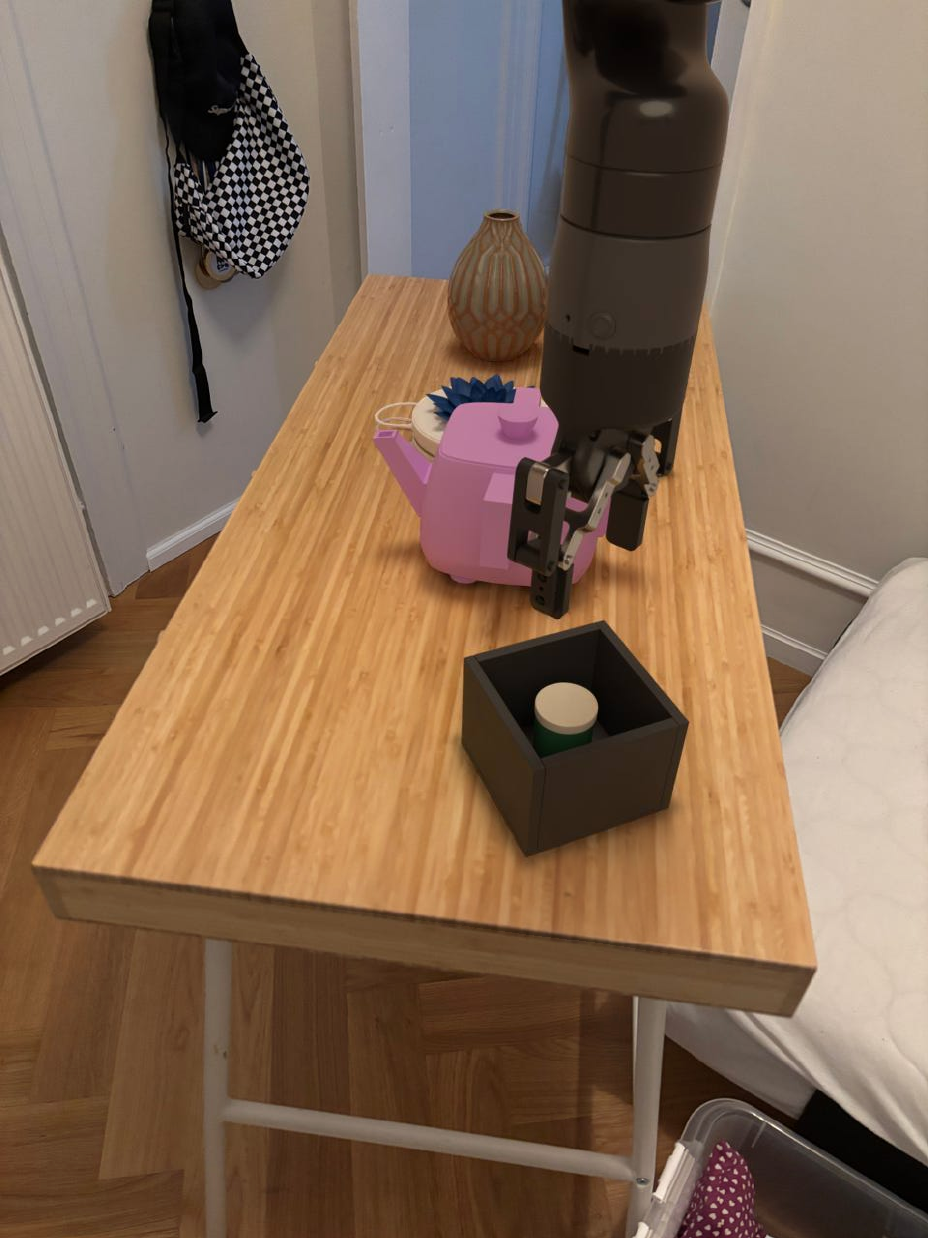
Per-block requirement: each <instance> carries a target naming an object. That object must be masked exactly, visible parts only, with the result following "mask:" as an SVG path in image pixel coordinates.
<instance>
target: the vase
mask: <svg viewBox="0 0 928 1238" xmlns="http://www.w3.org/2000/svg"><path fill="white" fill-rule="evenodd" d="M547 287H548V273H547V270H546V267H545V265H544V261H543V260H542V258H541V256H540V254H539V252H538V250H537V248H536V246H534V244H533V243H532V241H531V239H530V238H529V237H528V235H527V234H526V232H525V230H524V227H523V225H522V223H521V215H520V213H519V212H517V211H516V210H512V209H508V208H507V209H506V208H505V209H504V208H495V209H494V208H493V209H490V210H486V211H484V213H483V216H482V221H481V224H480V226H479V227H478V229H477V230H476V232H475V233H474V234H473V236H471V238H470V240H469V241H468V242H467V244H465V246H464V248H462V250H461V252H460V253H459V255H458V257H457V259H456V261H455V263H454V265H453V267H452V269H451V272H450V275H449V280H448V284H447V295H446V304H447V305H446V306H447V315H448V320H449V323H450V326H451V328H452V329H451V330H452V331H453V334H455V335H454V336H455V337H456V339H457V340H458V341H459V343H460V344H461V345H462V347H464V348H465V349H466V350H468V352H470V354H472V355H473V356H474V357H475V358H477V359H480V360H483V361H487V362H496V363H497V362H498V363H499V362H507V361H512V360H515V359H517V358H518V357H520V356H521V355H523V354H524V353H525V352H526V351H527V350H529V349H530V348H531V347H532V346H534V344H535V343H536V342H537V340H538V339H539V338H540V335H541V333H542V332H543V331H544V323H545V311H546V299H547Z"/></svg>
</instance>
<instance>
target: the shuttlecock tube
mask: <svg viewBox="0 0 928 1238" xmlns="http://www.w3.org/2000/svg"><path fill="white" fill-rule="evenodd" d="M597 713H598V703H597V701H596V698H595V697H594V695H593V694H592V693H591V692H590V691H588V690H587V689H585V688H584V687H581V686H579V685H576V684H572V683H555V684H551V685H549V686H547V687H545V688H543V689H542V690H541V691H540V692H539V693H538V695H537V697H536V700H535V725H534V735H533V746H532V747H533V749H534V750H535V752H536V753H537V755H538V757H539V758H540V760H541V758H544V757H547V756H550V755H554V754H557V753H560V752H563V751H566V750H570V749H573V748H576V747H579V746H582V745H586V744H589V743H591V742H592V736H593V729H594V723H595V721H596V718H597Z"/></svg>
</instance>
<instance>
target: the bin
mask: <svg viewBox="0 0 928 1238" xmlns="http://www.w3.org/2000/svg"><path fill="white" fill-rule="evenodd" d="M462 665H463V667H462V668H463V670H462V710H461V740H460V741H461V743H460V744H461V745H462V747H463V749H464V750H465V752H466V754H467V756H468V758H469V760H470V761H471V763H472V765H473V766H474V768H475V770H476V771H477V773H478V775H479V777H480V779H481V781H482V783H483V784H484V786H485V788H486V790H487V792H488V793H489V795H490V796H491V798H492V800H493V802H494V804H495V805H496V807H497V809H498V810H499V813H500V814H501V816H502V818H503V819H504V822H505V823H506V825H507V826H508V827H507V828H508V829H509V831H510V832H511V834H512V835H513V837H514V839H515V841H516V843H517V844H518V846H519V848H520V850H521V852H522V853H523V855H524V857H525V858H529V857H531V856H534V855H538V854H540V853H544V852H547V851H549V850H552V849H554V848H555V849H556V848H558V847H561V846H563V845H567V844H569V843H572V842H575V841H579V840H581V839H583V838H587V837H590V836H593V835H596V834H598V833H600V832H604V831H606V830H609V829H612V828H615V827H619V826H621V825H624V824H627V823H630V822H633V821H635V820H638V819H641V818H644V817H647V816H650V815H653V814H655V813H659V812H662V811H665V810H668V809H669V808H670V803H671V799H672V796H673V791H674V787H675V784H676V779H677V775H678V772H679V767H680V762H681V758H682V755H683V750H684V746H685V742H686V738H687V734H688V730H689V725H690V720H689V719H688V718H687V717H686V716H685V715H684V713H683V712H682V711H681V710H680V709H679V707H678V706H677V705H676V704H675V703H674V702H673V700H672V699H671V698H670V696H668V694H667V693H666V692H665V691H664V689H663V688H662V687H661V686H660V684H658V683H657V681H656V680H655V679H654V677H653V676H652V675H651V674H650V672H649V671H648V670H647V669H646V667H644V665H643V664H642V663H641V662H640V661H639V659H637V657H636V656H635V654H633V652H632V651H631V650H630V649H629V648H628V646H627V645H626V644H625V643H624V641H623V640H622V639H621V638H620V637H619V636H618V635H617V633H616V632H615V631H614V630H613V628H612V627H611V626H610V625H609V624H608V622H607V621H606V620H605V619H603V620H599V621H595V622H590V623H587V624H583V625H579V626H575V627H571V628H568V629H564V630H560V631H557V632H554V633H553V632H552V633H550V634H546V635H542V636H537V637H534V638H531V639H527V640H523V641H520V642H516V643H512V644H508V645H505V646H499V647H497V648H493V649H490V650H486V651H483V652H478V653H475V654H472V655H468V656H465V657H463V664H462ZM555 683H572V684H576V685H579V686H581V687H584V688H585V689H587V690H588V691H590V692H591V693H592V694H593V695H594V697H595V698H596V701H597V703H598V713H597V718H596V721H595V723H594V729H593V736H592V742H591V743H589V744H586V745H582V746H579V747H576V748H573V749H570V750H566V751H563V752H560V753H557V754H554V755H550V756H547V757H544V758H541V760H540V758H539V757H538V755H537V753H536V752H535V750H534V749H533V747H532V746H533V735H534V725H535V700H536V697H537V695H538V693H539V692H540V691H541V690H542V689H543V688H545V687H547V686H549V685H551V684H555Z"/></svg>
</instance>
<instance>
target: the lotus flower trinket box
mask: <svg viewBox="0 0 928 1238" xmlns="http://www.w3.org/2000/svg"><path fill="white" fill-rule="evenodd" d="M449 382H450V385H449V386H447V385H441V388H440V389H437V390H435V391H432V392H430V393H426V394H425V396H424V397H423V398H421V399H420V400H419V401H418V402H413V401H412V402H411V401H409V402H408V401H407V402H405V401H404V402H394V403H391V404H388V405H385V406H383V407H381V408H380V409H379V410H377V411H376V413H375V415H374V420H375V422H376V424H375V426H374V431H375V433H376V431H377V430H380V429H379V428H380V426H381V427H385V428H392V429H407V430H410V431H411V432H412V433H411V441H408V442H409V443H410V444H411V445H412V446H413V447H414V448H415V449H416V450H417V451H418V452H419V453H420V454H421V455H422V456H423V457H424V458H425V459H426V460H427V461H428V462H429V463H432V464H433V461H434V458H435V455H436V452H437V449H438V446H439V443H440V441H441V438H442V435H443V433H444V431H445V428H446V426H447V423H448V421H449V419H450V417H451V415H452V413H453V412H454V410H455V409H456V408H457V407H458V406H459V405H461V404H465V403H482V402H484V403H514V398H515V394H516V389H517V387H515V382H514V380H509V381H507V382H506V383H504V384H503V381H502V378H501V376H500V375H499V373H495V374H493V375H492V376H490V377H489V378H488V379H487V380H485V382H483V381H482V380H480V379H478V378H477V377H475V376H472V377H471V378H470V380H469V382H468V381H467V380H466V379H464V378H462V377H454V376H450V378H449ZM525 388H536V387H535V385H529V386H525ZM405 406H406V407H411V406H412V407H414V408H413V410H412V412H411V418H409V417H402V416H388V417H386V418H383V419H381V420H380V419H379V416H380V415H381V414H382V413H383V412H385V411H386V410H389V409H392V408H397V407H405ZM541 407H548V406H547V405H546V403H545V402H544V400H543V399H542V398H541ZM393 421H396V422H397V421H398V422H405V423H406V424H405V423H403V424H402V423H391V422H393ZM389 422H390V423H389ZM407 423H408V424H407Z"/></svg>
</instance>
